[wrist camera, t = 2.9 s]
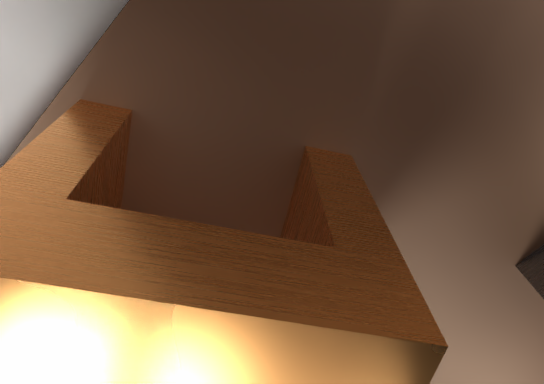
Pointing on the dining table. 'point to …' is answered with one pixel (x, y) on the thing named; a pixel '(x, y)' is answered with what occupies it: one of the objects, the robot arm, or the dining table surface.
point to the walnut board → (350, 138)
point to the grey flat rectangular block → (534, 269)
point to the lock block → (197, 278)
